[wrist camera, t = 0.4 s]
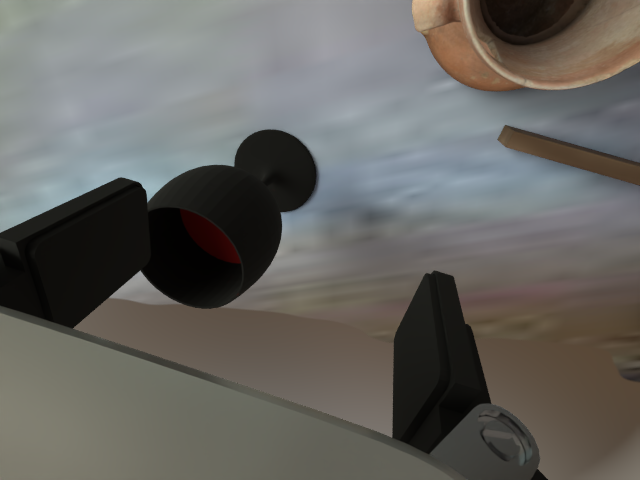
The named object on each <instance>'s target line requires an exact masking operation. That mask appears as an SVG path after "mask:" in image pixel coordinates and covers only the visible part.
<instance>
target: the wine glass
mask: <svg viewBox="0 0 640 480" xmlns="http://www.w3.org/2000/svg"><path fill="white" fill-rule="evenodd" d="M234 164H235V167H232V166H227V165H209V166H202V167H198V168H195V169H192V170H189V171H187V172H185V173H183V174H181V175H179V176H177V177H176V178H174V179H172V180H171V181H169V182H168V183H167V184H166V185H164V186H163V187H162V188H161V189H160V190H159V191H158V192H157V193H156V194H155V195H154V196H153V197H152V198H151V199H150V201H149V202H148V203H147V207H148V221H149V235H150V248H151V257H150V260H149V262H148V264H147V265H146V266H145V267H143V268H142V269H141V272H142V273H143V275H144V276H145V277H146V278H147V280H148V281H149V282H150V283H151V284H152V285H153V286H154V287H155V288H157V289H158V290H159V291H160V292H162V293H163V294H165V295H166V296H168V297H169V298H171V299H173V300H175V301H177V302H179V303H182V304H184V305H187V306H191V307H195V308H202V309H207V308H209V309H211V308H218V307H221V306H224V305H226V304H228V303H230V302H231V301H233V300H234V299H236V298H237V297H239V296H240V295H241V294H242V293H244V292H245V291H246V290H247V289H249V288H250V287H251V286H252V285H253V284H254V283H255V282H256V281H257V280H258V279H259V278H260V277H261V276H262V275H263V274H264V272H265V271H266V270H267V268H268V267H269V266H270V264H271V262H272V261H273V259H274V257H275V255H276V253H277V250H278V247H279V244H280V240H281V233H282V219H281V213H280V212H288V211H292V210H294V209H297V208H298V207H300V206H302V205H303V204H304V203H305V202H306V201H307V200H308V199H309V197H310V196H311V194H312V192H313V190H314V187H315V182H316V170H315V165H314V162H313V159H312V157H311V155H310V153H309V151H308V150H307V149H306V147H305V146H304V145H303V144H302V143H301V142H300V141H299V140H298V139H296V138H295V137H294V136H292V135H290V134H288V133H285V132H283V131H279V130H261V131H258V132H256V133H254V134H252V135H250V136H249V137H247V138H246V139H245V140H244V141H243V142H242V144H241V145H240V147H239V148H238V150H237V153H236V156H235V162H234Z"/></svg>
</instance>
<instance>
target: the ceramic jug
mask: <svg viewBox="0 0 640 480" xmlns="http://www.w3.org/2000/svg"><path fill="white" fill-rule="evenodd" d="M412 15H413V18H414V23H415V28H416V30H417V31H418V32H421V33H422V34H423V35H424V37H425V38H426V40H427V43H428V45H429V48H430V50H431V52H432V54H433V56H434V58H435V59H436V61H437V62H438V63H439V65H440V66H441V67H442V68H443V69H444V70H445V71H446V72H447V73H448V74H449V75H450V76H451V77H453V78H454V79H455V80H457V81H459V82H460V83H462V84H464V85H467V86H469V87H472V88H475V89H479V90H484V91H509V90H515V89H520V88H524V87H528V88H533V89H539V90H566V89H573V88H578V87H583V86H586V85H590V84H593V83H596V82H599V81H602V80H604V79H608V78H610V77H612V76H614V75H616V74H619V73H620V72H622V71H623V70H625V69H627V68H629V67H631V66H633V65H635V64H636V63H638V62H640V0H413V1H412Z"/></svg>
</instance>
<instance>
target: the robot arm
mask: <svg viewBox="0 0 640 480" xmlns="http://www.w3.org/2000/svg"><path fill="white" fill-rule="evenodd" d="M150 257H151V248H150V235H149V221H148V207H147V194H146V190H145V189H144V188H143V187H142V185H141V184H140V183H139V182H136V181H133V180H129V179H126V178H122V177H121V178H118V179H115V180H113V181H111V182H109V183H107V184H105V185H102V186H100V187H98V188H96V189H94V190H92V191H90V192H87V193H85V194H83V195H81V196H79V197H77V198H74V199H72V200H70V201H68V202H66V203H64V204H61V205H59V206H57V207H55V208H53V209H51V210H49V211H46V212H44V213H42V214H40V215H38V216H36V217H33V218H31V219H29V220H27V221H25V222H23V223H21V224H18V225H16V226H14V227H12V228H10V229H8V230H5V231H3V232H1V233H0V480H548V479H547V478H546V477H545V476H544V475H543V474H542V473H541V472H540V471H539V470H538V469H537V468H538V465H539V462H540V456H539V449H538V447H537V444H536V442H535V439H534V438H533V436H532V435H531V433H530V432H529V430H528V429H527V427H526V426H525V425H524V424H523V423H522V422H521V421H520V420H519V419H518V418H517V417H516V416H514V415H513V414H511V413H510V412H509V411H507V410H505V409H504V408H502V407H500V406H497V405H493V404H491V400H490V397H489V393H488V389H487V386H486V381H485V378H484V374H483V370H482V366H481V362H480V358H479V354H478V351H477V347H476V343H475V339H474V335H473V332H472V329H471V327H470V326H469V325H468V324H465V321H464V317H463V313H462V309H461V305H460V301H459V297H458V293H457V288H456V284H455V280H454V277H453V276H451V275H448V274H444V273H441V272H438V271H433V272H432V273H431V274H428V273H426V274H425V275H424V277H423V279H422V281H421V283H420V285H419V287H418V289H417V291H416V293H415V295H414V297H413V299H412V301H411V303H410V305H409V307H408V309H407V311H406V313H405V315H404V317H403V319H402V321H401V323H400V326H399V328H398V330H397V332H396V334H395V338H394V371H393V372H394V374H393V437H392V438H391V437H389V436H387V435H384V434H381V433H379V432H377V431H374V430H371V429H368V428H365V427H363V426H360V425H357V424H354V423H352V422H349V421H346V420H343V419H340V418H337V417H335V416H332V415H329V414H326V413H323V412H321V411H318V410H315V409H312V408H309V407H306V406H303V405H300V404H297V403H294V402H291V401H288V400H285V399H282V398H280V397H276V396H273V395H271V394H268V393H265V392H262V391H259V390H256V389H253V388H250V387H247V386H244V385H241V384H238V383H235V382H232V381H229V380H226V379H223V378H220V377H217V376H214V375H211V374H208V373H205V372H202V371H199V370H196V369H193V368H190V367H187V366H184V365H181V364H178V363H175V362H172V361H169V360H166V359H163V358H160V357H157V356H154V355H151V354H148V353H145V352H142V351H139V350H136V349H133V348H129V347H127V346H124V345H121V344H118V343H115V342H112V341H109V340H106V339H102V338H99V337H96V336H93V335H90V334H87V333H84V332H81V331H78V330H75V329H73V328H74V327H75V326H76V325H77V324H78V323H80V322H81V321H82V320H83V319H84V318H85V317H87V316H88V315H89V314H90V313H91V312H92V311H94V310H95V309H96V308H97V307H98V306H99V305H100V304H101V303H103V302H104V301H105V300H106V299H107V298H109V297H110V296H111V295H112V294H113V293H114V292H116V291H117V290H118V289H119V288H120V287H121V286H123V285H124V284H125V283H126V282H127V281H128V280H130V279H131V278H132V277H133V276H134V275H135V274H137V273H138V272H139V271H140V270H141V269H142V268H143V267H145V266H146V265H147V264H148V262H149V260H150Z"/></svg>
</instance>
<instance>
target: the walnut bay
mask: <svg viewBox="0 0 640 480" xmlns="http://www.w3.org/2000/svg"><path fill="white" fill-rule="evenodd" d="M498 141H499V142H501V143H502V144H503V145H504V146H505V147H507V148H511V149H514V150H518V151H521V152H525V153H528V154H532V155H535V156H539V157H542V158H546V159H549V160H553V161H556V162H559V163H563V164H566V165H570V166H573V167H577V168H580V169H584V170H587V171H591V172H594V173H598V174H601V175H605V176H608V177H612V178H615V179H619V180H622V181H626V182H629V183H633V184H636V185H640V163H638V162H634V161H631V160H627V159H624V158H620V157H616V156H613V155H609V154H606V153H602V152H599V151H595V150H592V149H588V148H585V147H581V146H578V145H574V144H571V143H567V142H563V141H560V140H556V139H553V138H549V137H546V136H542V135H539V134H535V133H532V132H528V131H525V130H521V129H518V128H514V127H510V126H507V125H505V126H504V128H503V130H502V132H501V134H500V136H499V138H498Z"/></svg>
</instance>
